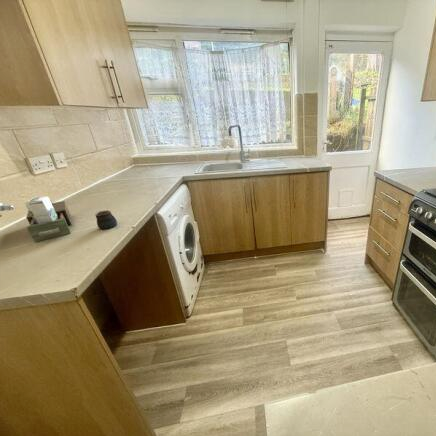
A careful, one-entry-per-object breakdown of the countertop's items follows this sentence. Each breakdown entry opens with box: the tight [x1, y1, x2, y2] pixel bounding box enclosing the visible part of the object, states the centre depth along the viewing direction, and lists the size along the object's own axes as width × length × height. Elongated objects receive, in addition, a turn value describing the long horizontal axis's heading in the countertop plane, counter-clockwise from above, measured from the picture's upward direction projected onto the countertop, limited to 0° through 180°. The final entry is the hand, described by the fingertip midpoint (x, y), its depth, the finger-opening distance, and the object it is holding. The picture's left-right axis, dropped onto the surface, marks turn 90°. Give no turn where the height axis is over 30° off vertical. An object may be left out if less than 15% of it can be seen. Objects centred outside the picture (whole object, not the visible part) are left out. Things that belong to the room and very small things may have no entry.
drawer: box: [26, 212, 71, 243], centre depth 105 cm, size 20×11×7 cm, turn 42°
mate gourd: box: [95, 210, 118, 231], centre depth 109 cm, size 7×8×10 cm
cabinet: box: [26, 200, 73, 227], centre depth 114 cm, size 17×13×9 cm
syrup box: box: [24, 196, 59, 224], centre depth 103 cm, size 6×6×14 cm
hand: (6, 211), depth 97 cm, fingers open, 8 cm apart
